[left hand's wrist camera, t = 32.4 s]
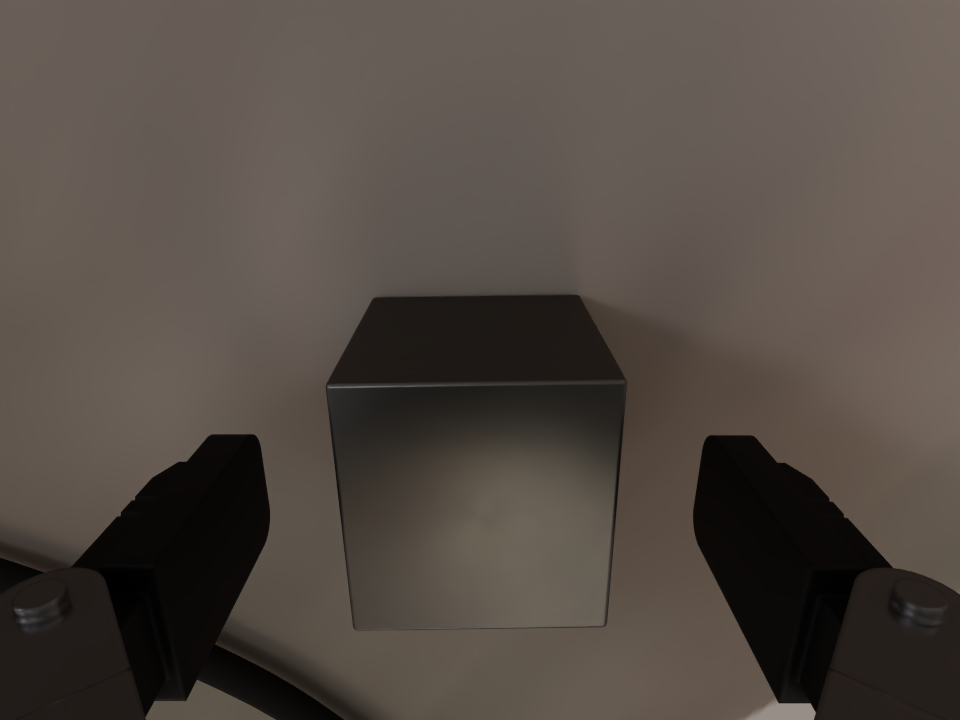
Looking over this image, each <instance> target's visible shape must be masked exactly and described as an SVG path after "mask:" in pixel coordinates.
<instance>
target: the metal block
mask: <svg viewBox="0 0 960 720" xmlns="http://www.w3.org/2000/svg"><path fill="white" fill-rule="evenodd" d="M626 389H627V381H626V379H625V377H624V375H623V373H622V371H621V370H620V368H619V366H618V364H617V362H616V361H615V359H614V357H613V355H612V354H611V352H610V350H609V348H608V346H607V345H606V343H605V341H604V339H603V337H602V336H601V334H600V332H599V330H598V328H597V327H596V325H595V323H594V321H593V320H592V318H591V316H590V314H589V312H588V311H587V309H586V307H585V305H584V303H583V302H582V300H581V298H580V296H578V295H537V296H461V297H386V298H373V299H372V301H371V303H370V305H369V307H368V309H367V310H366V312H365V314H364V316H363V318H362V320H361V321H360V323H359V325H358V327H357V329H356V331H355V332H354V334H353V336H352V338H351V340H350V342H349V343H348V345H347V347H346V349H345V351H344V353H343V354H342V356H341V358H340V360H339V362H338V364H337V365H336V367H335V369H334V371H333V373H332V375H331V376H330V378H329V380H328V382H327V384H326V394H327V403H328V411H329V420H330V429H331V438H332V446H333V455H334V464H335V472H336V481H337V490H338V499H339V507H340V516H341V525H342V534H343V542H344V551H345V560H346V568H347V577H348V586H349V595H350V603H351V612H352V621H353V627H354V629H355V630H357V631H362V630H432V629H503V628H573V627H605V626H606V624H607V617H608V605H609V593H610V581H611V569H612V557H613V545H614V533H615V521H616V509H617V497H618V485H619V473H620V461H621V449H622V437H623V425H624V413H625V401H626Z"/></svg>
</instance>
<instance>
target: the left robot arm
mask: <svg viewBox="0 0 960 720" xmlns="http://www.w3.org/2000/svg"><path fill="white" fill-rule="evenodd" d="M693 524H694V532H695V536H696V540H697V543H698V546H699V548H700V550H701V552H702V554H703V556H704V557H705V559H706V561H707V563H708V565H709V567H710V569H711V571H712V573H713V575H714V577H715V579H716V581H717V583H718V585H719V587H720V589H721V591H722V593H723V595H724V597H725V599H726V601H727V603H728V605H729V607H730V609H731V611H732V612H733V614H734V616H735V618H736V620H737V622H738V624H739V626H740V628H741V630H742V632H743V634H744V636H745V638H746V640H747V642H748V644H749V646H750V648H751V650H752V652H753V654H754V656H755V658H756V660H757V662H758V664H759V666H760V667H761V669H762V671H763V673H764V675H765V677H766V679H767V681H768V683H769V685H770V687H771V689H772V691H773V693H774V695H775V697H776V699H777V701H778V703H811V705H812V706H813V708H814V710H815V712H816V715H815V718H814V720H960V594H958V593H957V592H955V591H954V590H952V589H951V588H949V587H947V586H945V585H944V584H942V583H940V582H938V581H936V580H933V579H931V578H929V577H926V576H923V575H921V574H917V573H914V572H911V571H906V570H902V569H895V568H893V567H892V566H891V565H890V564H889V563H888V562H887V561H886V560H885V558H884V557H883V556H882V555H881V554H880V553H879V552H878V551H877V550H876V549H875V548H874V546H873V545H872V544H871V543H870V542H869V541H868V540H867V539H866V538H865V537H864V536H863V534H862V533H861V532H860V531H859V530H858V529H857V528H856V527H855V526H854V525H853V524H852V522H851V521H850V520H849V519H848V518H844V514H843V513H842V512H841V510H840V509H839V508H838V507H837V506H836V505H835V504H834V503H833V502H829V497H828V496H827V495H826V494H825V493H824V492H823V491H822V490H821V489H820V487H819V486H818V485H817V484H816V483H815V482H814V481H813V480H812V479H811V478H809V477H808V476H806V475H804V474H803V473H801V472H799V471H798V470H796V469H794V468H793V467H791V466H789V465H788V464H786V463H777V462H776V461H775V460H774V458H773V457H772V456H771V455H770V454H769V453H768V451H767V450H766V449H765V448H764V447H763V446H762V445H761V443H760V442H759V441H758V440H757V439H756V438H755V437H754V436H751V435H710V436H708V437H707V438H706V440H705V442H704V445H703V449H702V455H701V462H700V469H699V476H698V482H697V489H696V496H695V503H694V510H693ZM269 525H270V507H269V500H268V493H267V486H266V479H265V473H264V466H263V459H262V452H261V446H260V442H259V440H258V438H257V436H255V435H253V434H213V435H210V436H209V437H207V439H206V440H205V441H204V442H203V443H202V444H201V446H200V447H199V448H198V449H197V450H196V451H195V453H194V454H193V455H192V456H191V457H190V459H189V460H188V461H187V462H178V463H176V464H174V465H173V466H171V467H169V468H168V469H166V470H164V471H163V472H161V473H159V474H158V475H156V476H155V477H153V478H152V479H151V480H150V481H149V482H148V483H147V484H146V485H145V486H144V488H143V489H142V490H141V491H140V492H139V493H138V494H137V495H136V496H135V500H132V501H131V502H130V503H129V504H128V505H127V506H126V507H125V508H124V510H123V511H122V512H121V516H120V517H116V518H115V520H114V521H113V522H112V523H111V524H110V525H109V526H108V527H107V528H106V529H105V531H104V532H103V533H102V534H101V535H100V536H99V537H98V538H97V539H96V540H95V542H94V543H93V544H92V545H91V546H90V547H89V548H88V549H87V550H86V551H85V553H84V554H83V555H82V556H81V557H80V558H79V559H78V560H77V561H76V562H75V564H74V565H73V566H72V567H71V568H65V569H58V570H54V571H49V572H46V573H44V572H41V571H38V570H35V569H32V568H29V567H26V566H23V565H20V564H17V563H14V562H11V561H8V560H5V559H2V558H0V720H146V718H145V717H146V715H147V713H148V712H149V710H150V708H151V706H152V704H153V703H154V701H186V700H187V698H188V696H189V694H190V692H191V690H192V688H193V686H194V684H195V682H196V680H199V681H201V682H204V683H206V684H208V685H210V686H212V687H214V688H217V689H219V690H221V691H223V692H225V693H227V694H229V695H231V696H233V697H235V698H237V699H239V700H241V701H243V702H245V703H247V704H249V705H251V706H253V707H255V708H256V709H258V710H260V711H262V712H264V713H265V714H267V715H269V716H271V717H273V718H274V719H276V720H344V719H342V718H341V717H339V716H338V715H337V714H335V713H334V712H332V711H331V710H330V709H328V708H327V707H325V706H324V705H322V704H321V703H320V702H318V701H317V700H315V699H314V698H312V697H310V696H309V695H307V694H306V693H304V692H303V691H301V690H300V689H298V688H296V687H295V686H293V685H292V684H290V683H288V682H286V681H285V680H283V679H281V678H280V677H278V676H276V675H274V674H273V673H271V672H269V671H267V670H265V669H263V668H261V667H259V666H258V665H256V664H254V663H252V662H250V661H248V660H246V659H244V658H242V657H240V656H238V655H236V654H234V653H232V652H230V651H227V650H225V649H223V648H221V647H219V646H217V645H215V642H216V640H217V638H218V636H219V634H220V632H221V630H222V629H223V627H224V625H225V623H226V621H227V619H228V617H229V615H230V613H231V611H232V609H233V607H234V605H235V603H236V601H237V599H238V597H239V595H240V593H241V591H242V589H243V587H244V585H245V583H246V581H247V579H248V577H249V575H250V573H251V571H252V569H253V567H254V565H255V563H256V561H257V559H258V557H259V555H260V553H261V551H262V549H263V547H264V545H265V543H266V540H267V536H268V532H269Z"/></svg>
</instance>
